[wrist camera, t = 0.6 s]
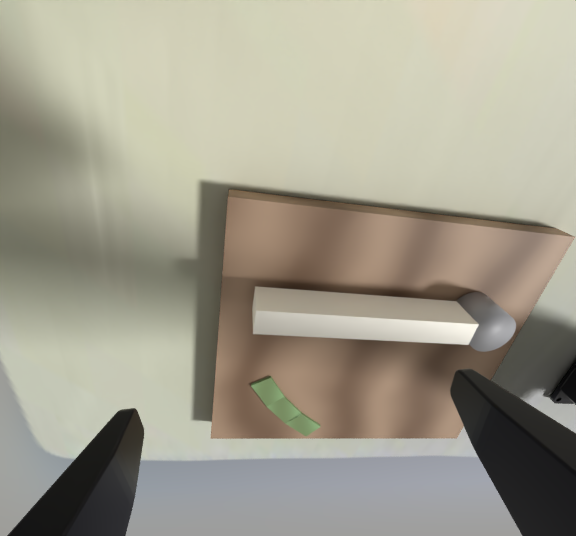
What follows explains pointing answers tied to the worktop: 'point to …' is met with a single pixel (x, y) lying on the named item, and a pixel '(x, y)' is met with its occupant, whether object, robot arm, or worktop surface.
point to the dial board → (370, 281)
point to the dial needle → (382, 317)
